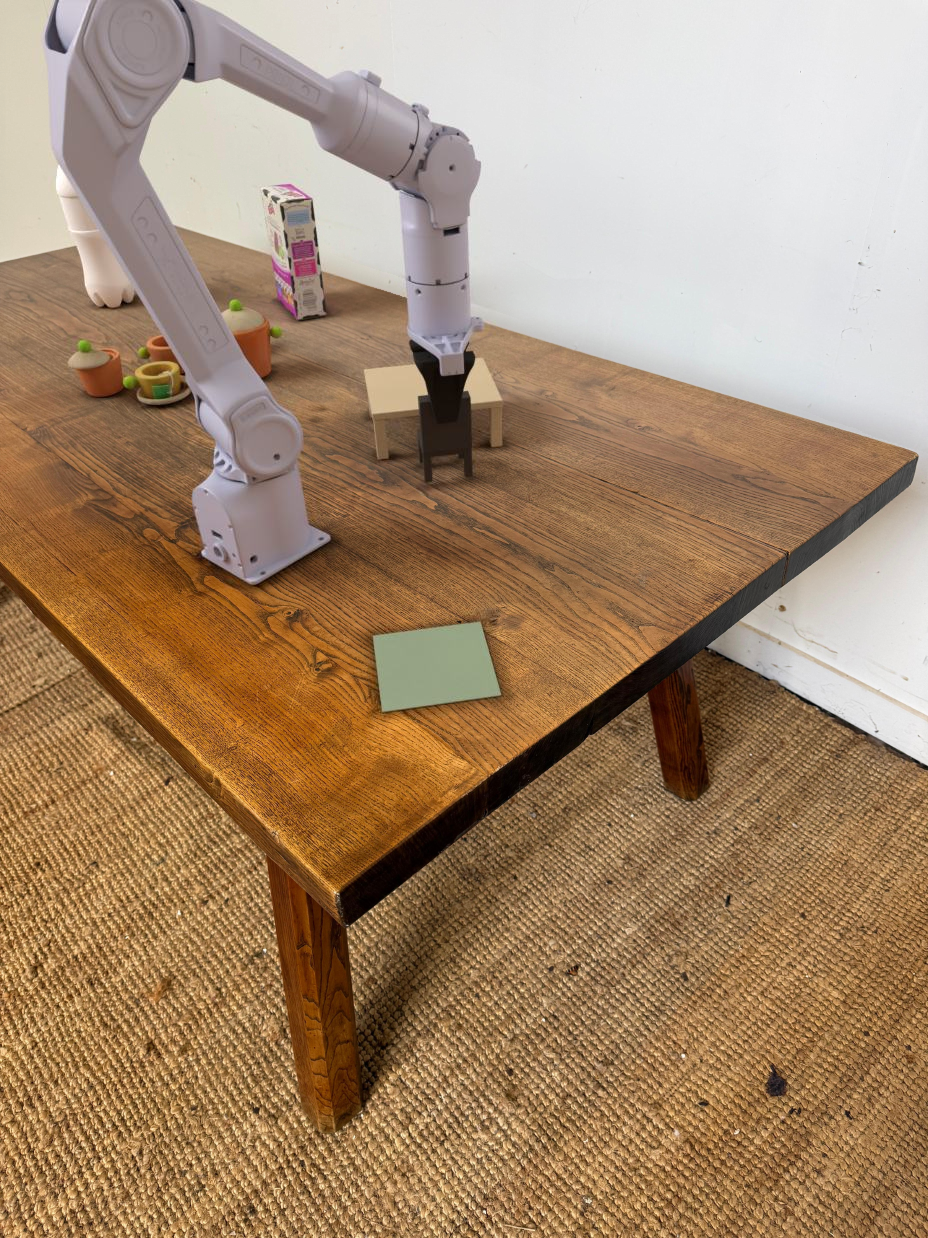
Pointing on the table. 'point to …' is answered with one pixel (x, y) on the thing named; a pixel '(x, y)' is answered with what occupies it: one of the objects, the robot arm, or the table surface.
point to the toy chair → (444, 436)
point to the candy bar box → (294, 250)
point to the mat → (434, 667)
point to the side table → (403, 384)
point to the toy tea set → (170, 360)
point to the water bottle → (93, 251)
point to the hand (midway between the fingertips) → (445, 416)
